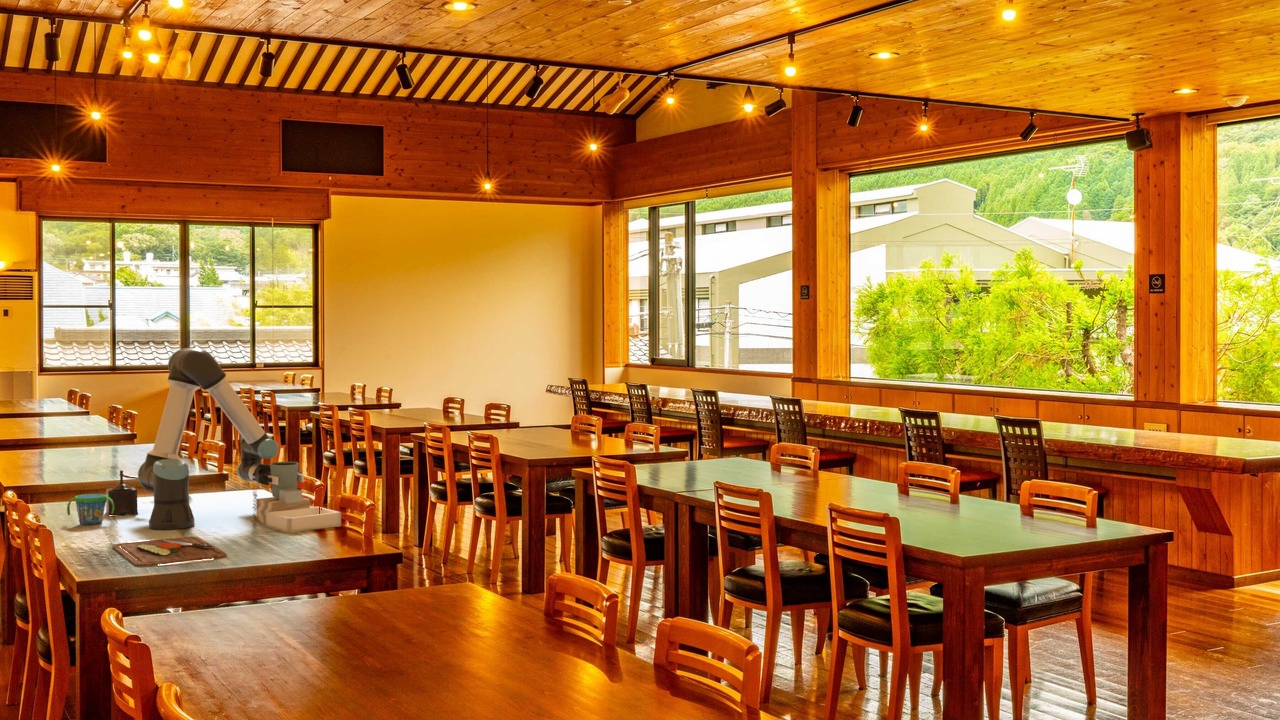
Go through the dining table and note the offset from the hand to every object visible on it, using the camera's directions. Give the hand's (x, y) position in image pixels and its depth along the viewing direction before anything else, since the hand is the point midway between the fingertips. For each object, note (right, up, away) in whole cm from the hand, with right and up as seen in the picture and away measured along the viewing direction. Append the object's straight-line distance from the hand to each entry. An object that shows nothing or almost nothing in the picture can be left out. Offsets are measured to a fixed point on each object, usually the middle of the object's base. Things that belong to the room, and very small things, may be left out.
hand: (290, 479), depth 433 cm
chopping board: (-22, -18, -55) cm, 62 cm away
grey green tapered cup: (-3, -7, +4) cm, 8 cm away
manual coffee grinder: (-68, -15, +22) cm, 73 cm away
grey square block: (+1, -8, -2) cm, 8 cm away
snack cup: (-72, -16, -2) cm, 73 cm away
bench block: (-3, -15, +3) cm, 16 cm away
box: (+7, -16, -9) cm, 20 cm away
